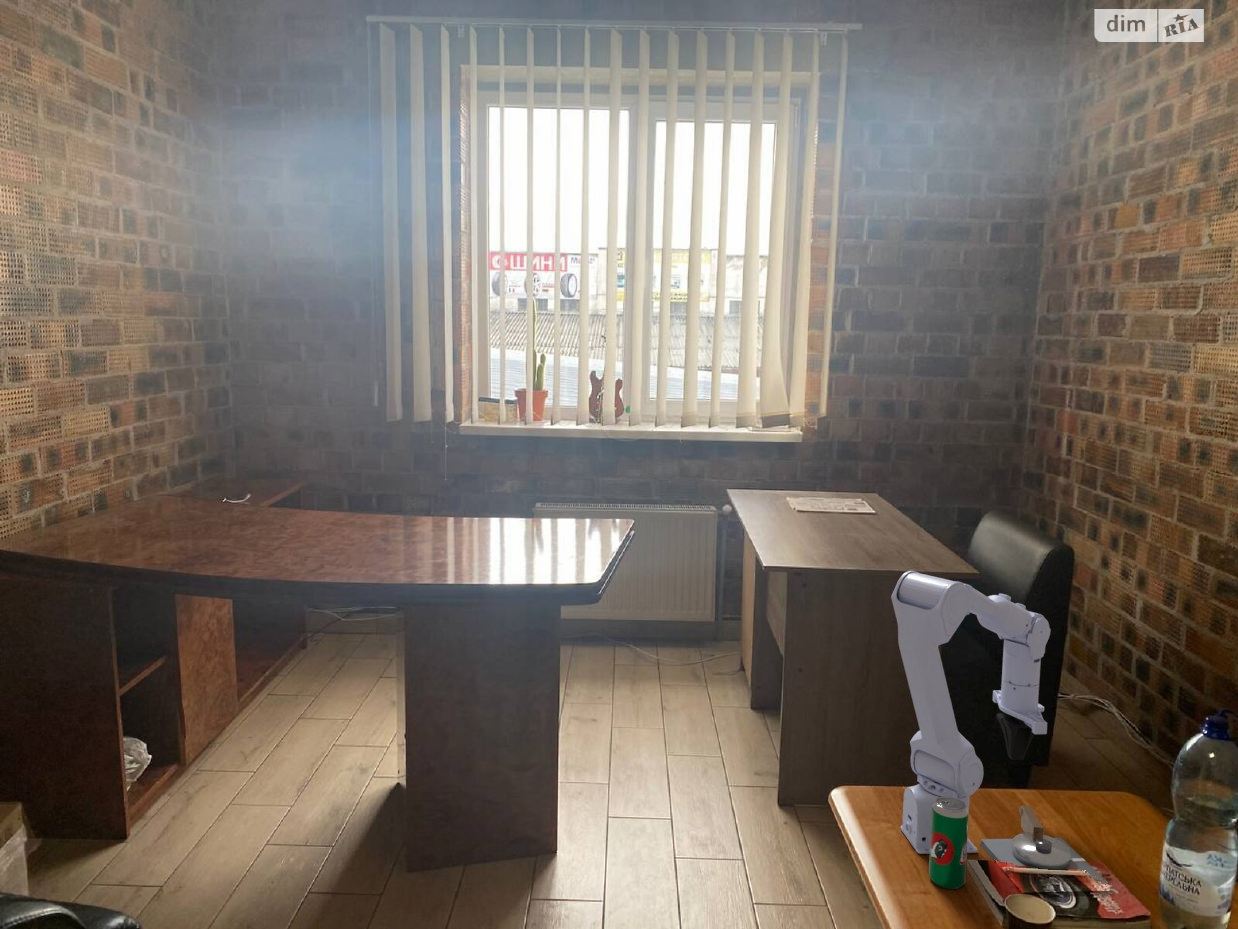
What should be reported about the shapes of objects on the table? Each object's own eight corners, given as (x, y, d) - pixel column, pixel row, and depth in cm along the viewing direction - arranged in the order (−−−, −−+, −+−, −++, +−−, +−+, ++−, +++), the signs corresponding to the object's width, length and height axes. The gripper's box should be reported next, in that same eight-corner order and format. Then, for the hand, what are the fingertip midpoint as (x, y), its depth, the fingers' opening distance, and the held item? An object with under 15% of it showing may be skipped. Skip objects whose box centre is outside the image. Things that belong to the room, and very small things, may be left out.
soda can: (968, 893, 128) (972, 813, 127) (931, 889, 129) (934, 809, 127) (961, 873, 133) (965, 797, 131) (926, 869, 134) (929, 793, 132)
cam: (1077, 873, 131) (1079, 850, 130) (1019, 867, 132) (1020, 845, 132) (1049, 825, 145) (1051, 804, 144) (997, 820, 146) (998, 799, 146)
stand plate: (1021, 893, 128) (1022, 886, 128) (980, 845, 141) (980, 838, 141) (1109, 891, 128) (1110, 884, 128) (1060, 843, 141) (1061, 837, 141)
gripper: (1067, 696, 142) (1062, 777, 144) (1022, 665, 157) (1017, 740, 158) (1024, 696, 142) (1019, 778, 143) (982, 666, 156) (978, 740, 158)
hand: (1015, 758), depth 151 cm, fingers closed
